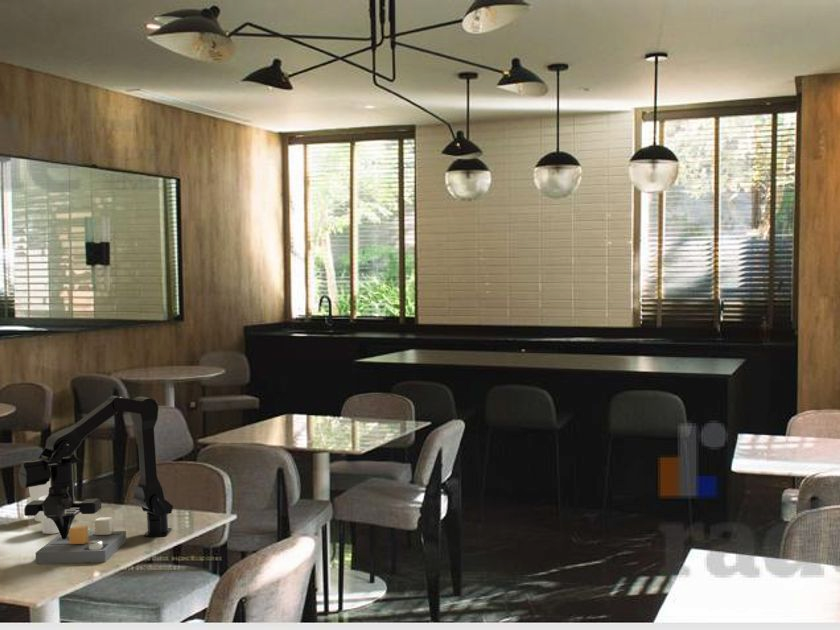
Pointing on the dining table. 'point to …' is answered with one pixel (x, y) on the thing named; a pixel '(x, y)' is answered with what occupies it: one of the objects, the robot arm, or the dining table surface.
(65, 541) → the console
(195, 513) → the dining table surface
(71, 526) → the rocker teal
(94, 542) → the clear cube
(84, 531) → the fader orange
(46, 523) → the white cup
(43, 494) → the foam cup
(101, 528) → the beige block
